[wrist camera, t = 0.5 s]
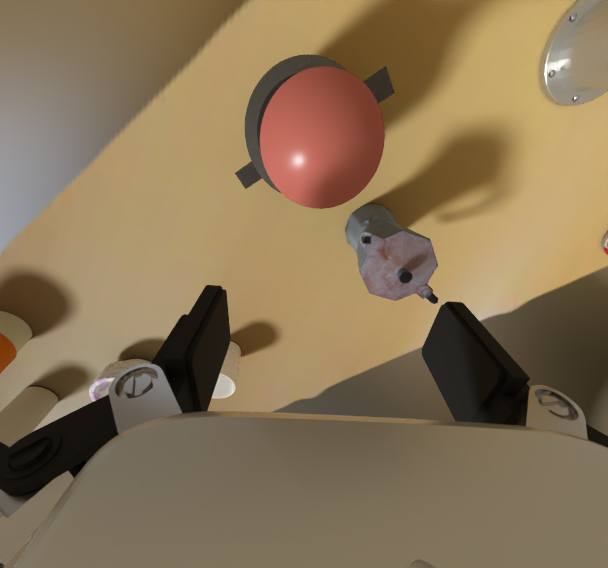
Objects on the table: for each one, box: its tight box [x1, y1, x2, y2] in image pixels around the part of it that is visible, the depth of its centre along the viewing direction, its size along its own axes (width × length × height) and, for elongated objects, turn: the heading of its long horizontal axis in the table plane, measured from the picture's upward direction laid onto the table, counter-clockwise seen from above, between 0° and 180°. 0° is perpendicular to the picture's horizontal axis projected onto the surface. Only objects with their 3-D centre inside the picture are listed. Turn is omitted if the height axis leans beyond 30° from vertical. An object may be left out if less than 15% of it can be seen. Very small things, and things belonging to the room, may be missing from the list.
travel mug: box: [0, 387, 58, 457], centre depth 61 cm, size 8×8×18 cm
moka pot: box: [345, 204, 438, 304], centre depth 39 cm, size 10×15×20 cm, turn 54°
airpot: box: [235, 55, 394, 193], centre depth 29 cm, size 19×13×23 cm
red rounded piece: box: [260, 66, 385, 209], centre depth 16 cm, size 6×6×10 cm
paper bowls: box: [89, 359, 152, 402], centre depth 61 cm, size 15×15×8 cm
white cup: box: [212, 341, 241, 398], centre depth 57 cm, size 8×8×10 cm
